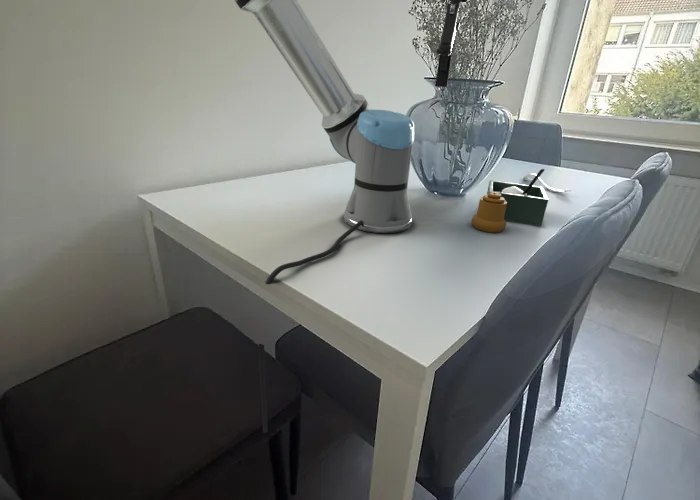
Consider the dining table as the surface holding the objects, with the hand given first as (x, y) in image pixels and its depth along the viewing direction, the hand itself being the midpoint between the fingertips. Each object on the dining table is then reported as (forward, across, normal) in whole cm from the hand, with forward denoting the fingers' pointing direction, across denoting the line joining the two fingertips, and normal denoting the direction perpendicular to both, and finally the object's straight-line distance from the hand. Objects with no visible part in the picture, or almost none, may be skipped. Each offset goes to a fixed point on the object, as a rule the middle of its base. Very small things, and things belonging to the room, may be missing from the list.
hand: (444, 86), depth 96 cm
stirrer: (+29, +32, -33) cm, 54 cm away
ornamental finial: (+29, -16, -16) cm, 37 cm away
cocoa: (+28, -3, -21) cm, 36 cm away
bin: (+29, -3, -22) cm, 36 cm away
